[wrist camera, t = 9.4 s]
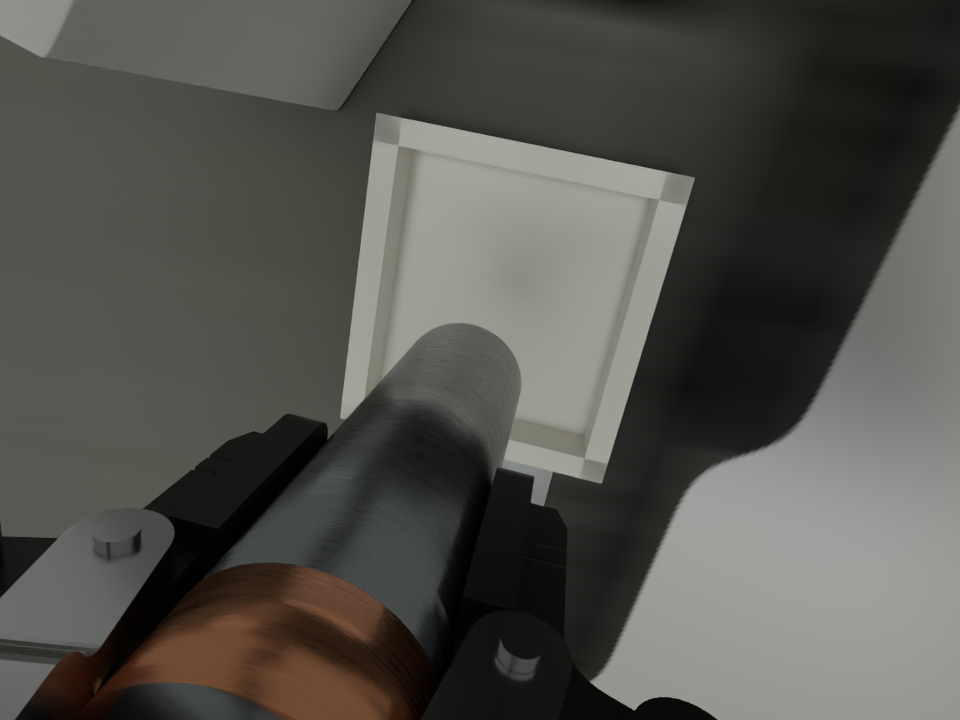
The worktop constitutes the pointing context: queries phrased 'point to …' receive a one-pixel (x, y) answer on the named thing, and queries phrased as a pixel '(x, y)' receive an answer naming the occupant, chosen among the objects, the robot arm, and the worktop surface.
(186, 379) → the worktop surface
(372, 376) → the tray
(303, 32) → the milk carton
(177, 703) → the lock pin
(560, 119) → the worktop surface
